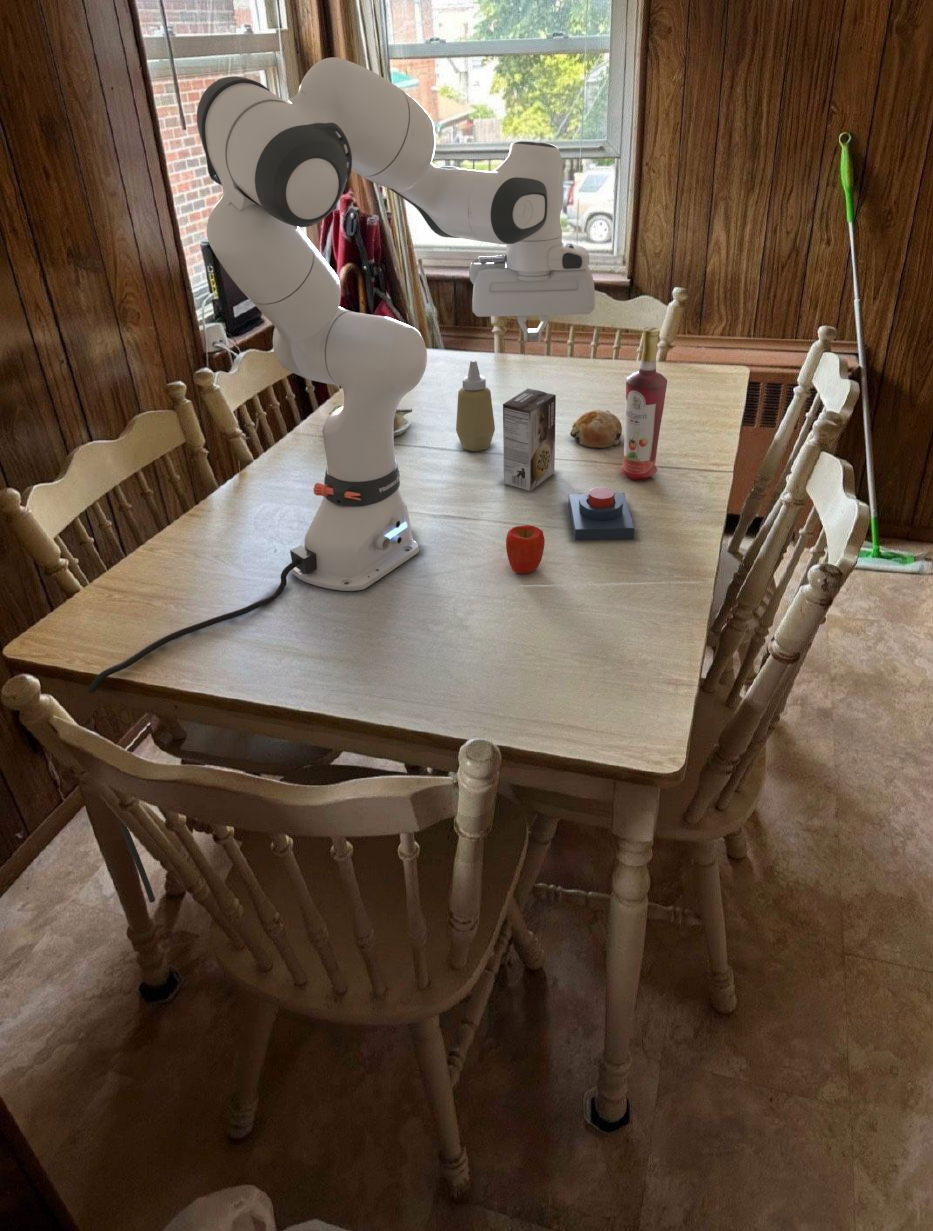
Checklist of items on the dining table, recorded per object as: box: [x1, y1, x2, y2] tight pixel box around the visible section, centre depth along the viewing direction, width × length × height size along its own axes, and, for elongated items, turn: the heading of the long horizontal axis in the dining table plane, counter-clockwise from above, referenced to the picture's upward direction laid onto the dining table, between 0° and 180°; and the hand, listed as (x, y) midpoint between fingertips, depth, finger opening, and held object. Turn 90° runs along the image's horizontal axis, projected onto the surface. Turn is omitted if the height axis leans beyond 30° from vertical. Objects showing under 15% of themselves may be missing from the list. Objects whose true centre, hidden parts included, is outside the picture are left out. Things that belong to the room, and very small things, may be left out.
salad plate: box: [328, 405, 413, 438], centre depth 191 cm, size 19×18×5 cm
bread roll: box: [570, 409, 623, 449], centre depth 182 cm, size 10×10×8 cm
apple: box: [505, 524, 546, 575], centre depth 141 cm, size 6×6×8 cm
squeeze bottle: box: [455, 359, 496, 452], centre depth 178 cm, size 8×8×18 cm
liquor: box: [620, 326, 668, 482], centre depth 161 cm, size 7×7×28 cm
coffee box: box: [502, 388, 557, 492], centre depth 165 cm, size 9×6×16 cm
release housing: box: [568, 492, 636, 541], centre depth 154 cm, size 13×10×4 cm
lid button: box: [588, 486, 615, 508], centre depth 152 cm, size 4×4×2 cm
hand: (532, 341), depth 149 cm, fingers closed
